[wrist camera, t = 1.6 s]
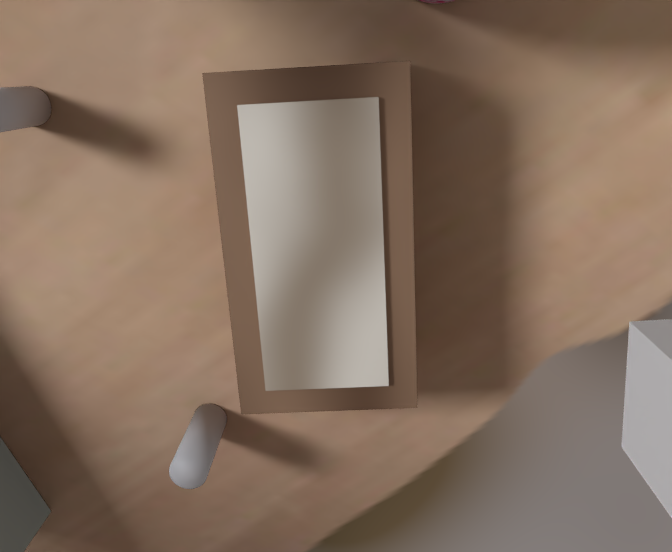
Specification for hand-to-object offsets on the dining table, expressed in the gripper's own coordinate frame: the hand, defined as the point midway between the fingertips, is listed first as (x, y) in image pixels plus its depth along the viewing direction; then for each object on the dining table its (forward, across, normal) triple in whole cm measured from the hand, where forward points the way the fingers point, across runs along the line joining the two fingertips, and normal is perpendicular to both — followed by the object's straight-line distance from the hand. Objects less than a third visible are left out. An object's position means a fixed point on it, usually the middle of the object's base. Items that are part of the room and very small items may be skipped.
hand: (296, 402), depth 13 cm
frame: (+16, 0, 0) cm, 16 cm away
